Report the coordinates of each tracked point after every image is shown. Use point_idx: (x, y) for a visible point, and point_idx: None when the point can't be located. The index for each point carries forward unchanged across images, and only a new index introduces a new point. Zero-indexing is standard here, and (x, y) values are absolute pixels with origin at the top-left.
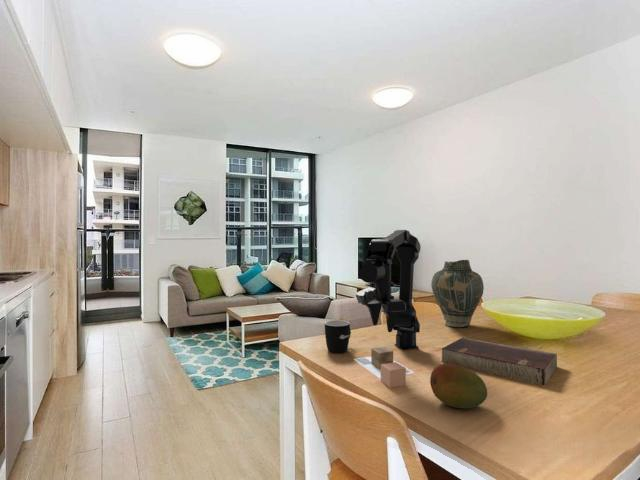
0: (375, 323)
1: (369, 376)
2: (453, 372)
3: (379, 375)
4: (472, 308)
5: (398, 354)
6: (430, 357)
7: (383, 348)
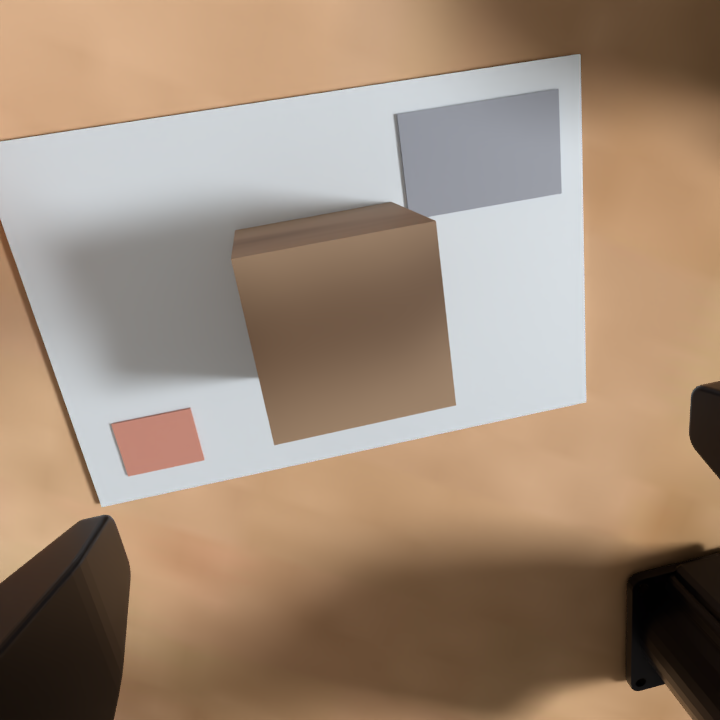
0: (713, 430)
1: (72, 64)
2: None
3: (65, 173)
4: None
5: (563, 511)
6: (428, 700)
7: (397, 368)
